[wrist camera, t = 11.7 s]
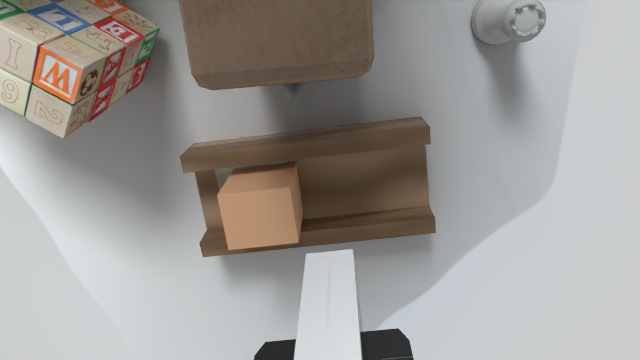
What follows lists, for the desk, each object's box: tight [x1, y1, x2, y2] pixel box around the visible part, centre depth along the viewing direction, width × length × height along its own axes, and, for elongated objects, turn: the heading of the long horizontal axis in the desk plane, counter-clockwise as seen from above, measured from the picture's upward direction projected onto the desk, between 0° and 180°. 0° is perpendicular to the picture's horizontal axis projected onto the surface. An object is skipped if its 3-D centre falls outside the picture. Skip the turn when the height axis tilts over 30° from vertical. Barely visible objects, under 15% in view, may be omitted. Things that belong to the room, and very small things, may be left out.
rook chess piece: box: [471, 0, 546, 45], centre depth 40 cm, size 4×4×8 cm
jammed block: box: [217, 162, 303, 250], centre depth 44 cm, size 5×6×7 cm
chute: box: [180, 117, 436, 257], centre depth 47 cm, size 10×22×4 cm, turn 97°
